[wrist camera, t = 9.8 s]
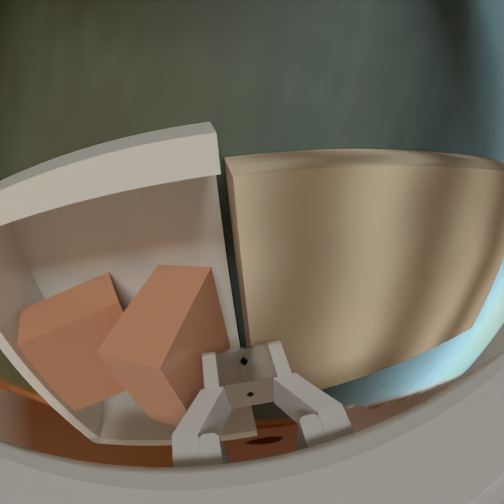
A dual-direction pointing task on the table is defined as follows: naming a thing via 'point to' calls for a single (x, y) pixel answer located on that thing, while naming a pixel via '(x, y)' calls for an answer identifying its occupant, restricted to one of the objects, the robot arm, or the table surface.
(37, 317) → the tile
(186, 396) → the tile
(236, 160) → the beige flat panel
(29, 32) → the table surface
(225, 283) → the tray
